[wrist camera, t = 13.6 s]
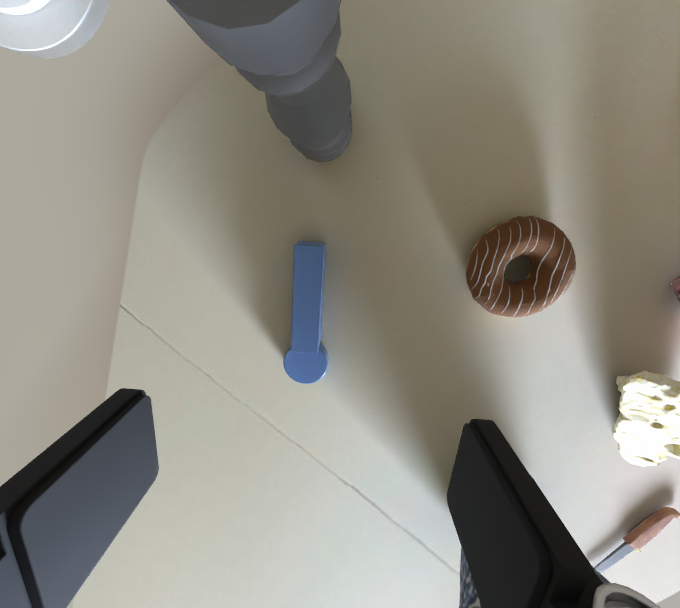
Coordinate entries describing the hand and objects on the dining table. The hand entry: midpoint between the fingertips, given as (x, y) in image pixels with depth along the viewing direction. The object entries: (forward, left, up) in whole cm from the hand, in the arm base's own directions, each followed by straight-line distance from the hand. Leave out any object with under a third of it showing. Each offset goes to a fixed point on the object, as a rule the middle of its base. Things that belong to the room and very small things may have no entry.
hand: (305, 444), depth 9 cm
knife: (+45, -37, -28) cm, 64 cm away
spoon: (-3, -6, -28) cm, 28 cm away
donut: (+19, +2, -28) cm, 33 cm away
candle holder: (-3, +14, -28) cm, 31 cm away
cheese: (+36, -13, -28) cm, 47 cm away
